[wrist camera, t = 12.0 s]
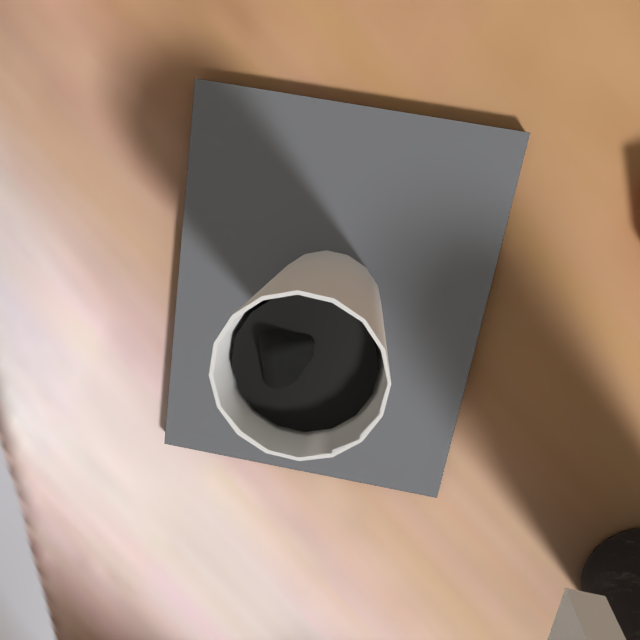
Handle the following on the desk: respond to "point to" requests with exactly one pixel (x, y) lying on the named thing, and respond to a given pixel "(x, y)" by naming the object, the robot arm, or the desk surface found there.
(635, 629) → the travel mug
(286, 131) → the charcoal mat
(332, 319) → the white coffee cup
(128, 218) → the desk surface
